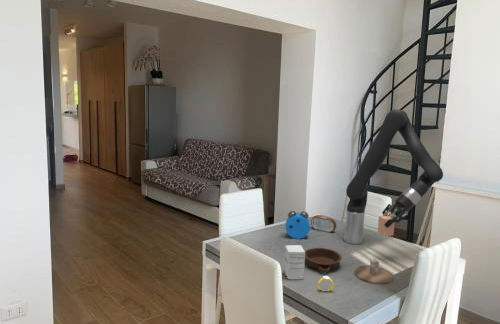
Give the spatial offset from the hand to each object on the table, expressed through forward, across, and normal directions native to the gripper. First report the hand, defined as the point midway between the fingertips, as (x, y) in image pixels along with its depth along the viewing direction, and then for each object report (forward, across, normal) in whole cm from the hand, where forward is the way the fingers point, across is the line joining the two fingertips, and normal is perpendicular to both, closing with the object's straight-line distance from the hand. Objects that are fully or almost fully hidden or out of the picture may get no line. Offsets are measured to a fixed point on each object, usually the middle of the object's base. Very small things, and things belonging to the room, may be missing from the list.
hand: (382, 224), depth 179 cm
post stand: (+20, +14, +5) cm, 25 cm away
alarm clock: (+35, -34, -9) cm, 50 cm away
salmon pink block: (+2, 0, +5) cm, 5 cm away
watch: (+39, +25, -13) cm, 48 cm away
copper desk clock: (+22, -44, +4) cm, 49 cm away
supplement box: (+45, +11, -19) cm, 50 cm away
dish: (+34, +1, -8) cm, 35 cm away
